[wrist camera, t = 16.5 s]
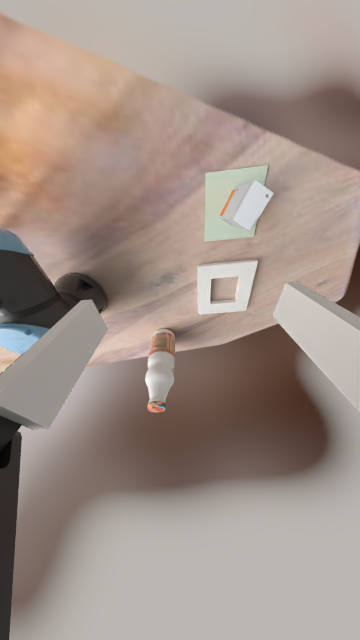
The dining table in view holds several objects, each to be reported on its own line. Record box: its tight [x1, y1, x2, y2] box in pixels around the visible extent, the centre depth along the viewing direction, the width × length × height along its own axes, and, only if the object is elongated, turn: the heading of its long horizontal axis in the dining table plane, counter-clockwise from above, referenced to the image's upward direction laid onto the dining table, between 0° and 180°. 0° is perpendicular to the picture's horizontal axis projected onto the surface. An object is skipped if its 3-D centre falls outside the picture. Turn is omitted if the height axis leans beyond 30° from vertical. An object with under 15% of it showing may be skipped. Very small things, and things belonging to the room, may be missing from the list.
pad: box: [204, 165, 268, 242], centre depth 34 cm, size 13×13×1 cm
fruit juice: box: [145, 329, 175, 412], centre depth 49 cm, size 9×9×28 cm
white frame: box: [197, 259, 258, 315], centre depth 46 cm, size 17×17×2 cm
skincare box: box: [219, 179, 274, 231], centre depth 29 cm, size 6×4×12 cm
